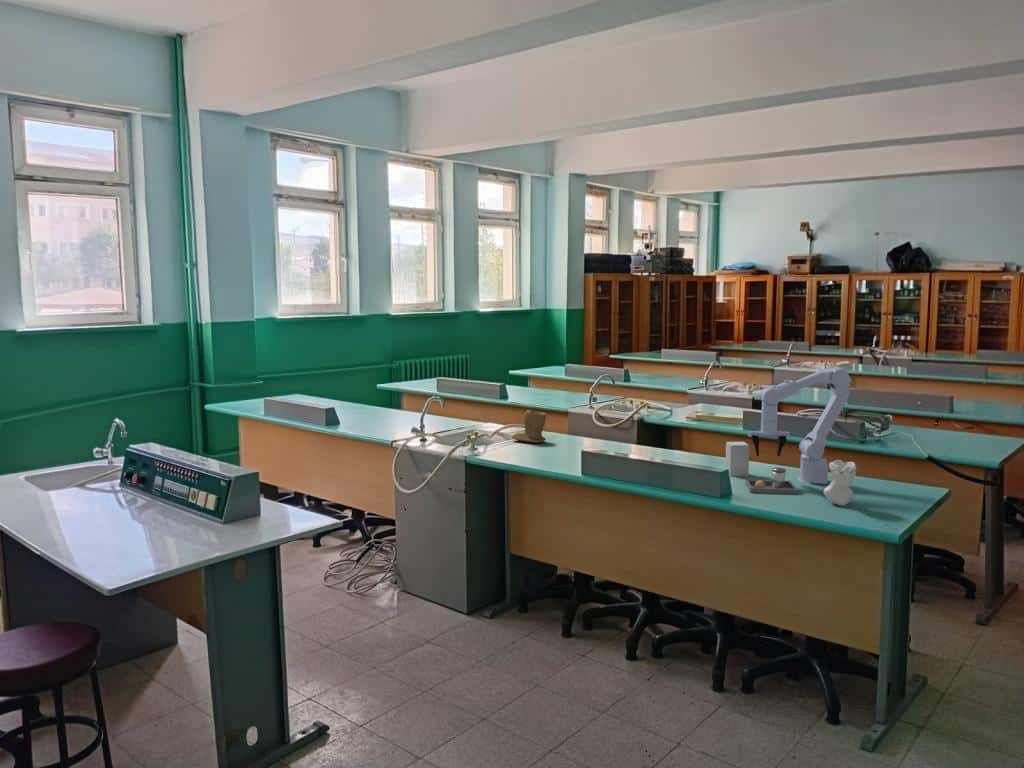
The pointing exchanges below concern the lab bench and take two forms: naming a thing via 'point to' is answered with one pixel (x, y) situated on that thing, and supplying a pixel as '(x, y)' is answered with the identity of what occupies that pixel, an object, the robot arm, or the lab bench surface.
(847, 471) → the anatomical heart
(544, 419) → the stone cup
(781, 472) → the shaker
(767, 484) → the tray
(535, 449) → the lab bench surface
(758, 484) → the ball
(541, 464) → the lab bench surface
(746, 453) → the supplement box
